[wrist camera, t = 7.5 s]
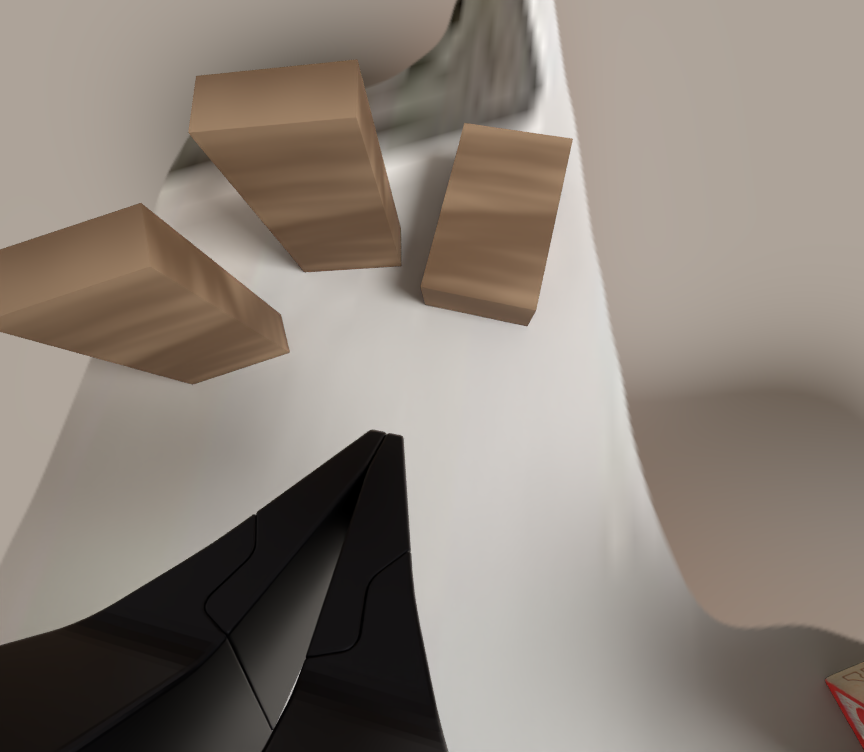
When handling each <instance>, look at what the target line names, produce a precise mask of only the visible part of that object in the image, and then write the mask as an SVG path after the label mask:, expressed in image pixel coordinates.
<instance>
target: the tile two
mask: <svg viewBox="0 0 864 752" xmlns="http://www.w3.org/2000/svg"><path fill="white" fill-rule="evenodd" d="M0 332H3V333H7V334H10V335H14V336H18V337H21V338H25V339H29V340H32V341H36V342H39V343H43V344H47V345H51V346H54V347H58V348H62V349H65V350H69V351H73V352H76V353H80V354H83V355H87V356H91V357H94V358H98V359H102V360H105V361H109V362H113V363H116V364H120V365H124V366H127V367H131V368H134V369H138V370H142V371H145V372H149V373H153V374H156V375H160V376H164V377H167V378H171V379H175V380H178V381H182V382H186V383H189V384H196V383H199V382H202V381H205V380H208V379H211V378H214V377H217V376H220V375H223V374H226V373H229V372H232V371H235V370H238V369H241V368H244V367H247V366H250V365H253V364H256V363H259V362H262V361H265V360H268V359H272V358H275V357H278V356H281V355H284V354H287V353H290V351H289V347H288V343H287V338H286V334H285V330H284V326H283V322H282V317H281V314H279V313H278V312H277V311H276V310H274V309H273V308H272V307H271V306H269V305H268V304H267V303H266V302H264V301H263V300H262V299H261V298H259V297H258V296H257V295H256V294H254V293H253V292H252V291H251V290H249V289H248V288H247V287H246V286H244V285H243V284H242V283H241V282H239V281H238V280H237V279H236V278H234V277H233V276H232V275H231V274H229V273H228V272H227V271H226V270H224V269H223V268H222V267H221V266H219V265H218V264H217V263H216V262H214V261H213V260H212V259H211V258H209V257H208V256H207V255H206V254H204V253H203V252H202V251H201V250H199V249H198V248H197V247H196V246H194V245H193V244H192V243H191V242H189V241H188V240H187V239H186V238H184V237H183V236H182V235H180V234H179V233H178V232H177V231H175V230H174V229H173V228H172V227H170V226H169V225H168V224H167V223H165V222H164V221H163V220H162V219H160V218H159V217H158V216H157V215H155V214H154V213H153V212H152V211H150V210H149V209H148V208H147V207H145V206H144V205H143V204H142V203H139V204H136V205H133V206H130V207H128V208H124V209H121V210H118V211H115V212H112V213H109V214H106V215H103V216H100V217H97V218H94V219H91V220H88V221H85V222H82V223H79V224H76V225H73V226H70V227H67V228H64V229H61V230H58V231H55V232H52V233H49V234H46V235H43V236H40V237H37V238H34V239H31V240H28V241H25V242H22V243H19V244H16V245H13V246H10V247H6V248H4V249H1V250H0Z"/></svg>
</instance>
